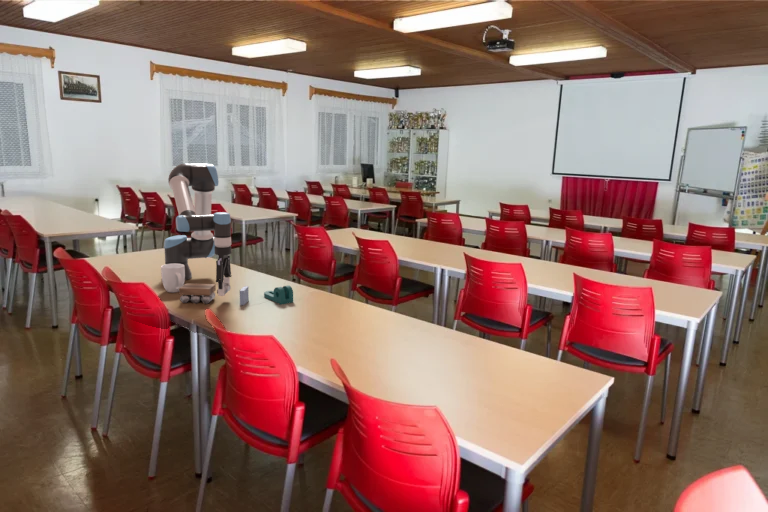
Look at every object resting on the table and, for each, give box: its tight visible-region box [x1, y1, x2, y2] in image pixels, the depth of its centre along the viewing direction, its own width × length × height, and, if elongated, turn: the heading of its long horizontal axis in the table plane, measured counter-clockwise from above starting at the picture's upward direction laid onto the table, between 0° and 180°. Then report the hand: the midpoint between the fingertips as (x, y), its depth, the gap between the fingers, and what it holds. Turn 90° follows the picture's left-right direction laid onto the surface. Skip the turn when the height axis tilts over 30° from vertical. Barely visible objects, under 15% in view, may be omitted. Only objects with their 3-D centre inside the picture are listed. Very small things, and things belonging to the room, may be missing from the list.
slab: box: [178, 283, 217, 296], centre depth 242 cm, size 9×14×3 cm, turn 90°
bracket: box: [263, 284, 294, 306], centre depth 251 cm, size 18×7×8 cm, turn 43°
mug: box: [160, 263, 186, 293], centre depth 256 cm, size 15×11×13 cm
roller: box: [216, 283, 231, 295], centre depth 242 cm, size 8×4×4 cm, turn 0°
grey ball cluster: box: [179, 291, 216, 305], centre depth 243 cm, size 8×14×4 cm, turn 90°
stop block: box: [239, 285, 249, 306], centre depth 243 cm, size 8×2×7 cm, turn 0°
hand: (224, 292), depth 242 cm, fingers closed on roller, 8 cm apart
